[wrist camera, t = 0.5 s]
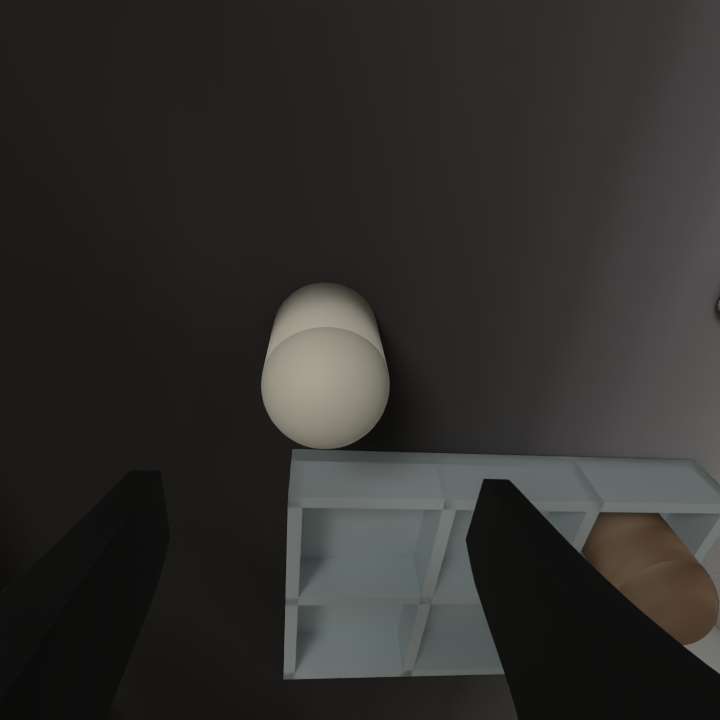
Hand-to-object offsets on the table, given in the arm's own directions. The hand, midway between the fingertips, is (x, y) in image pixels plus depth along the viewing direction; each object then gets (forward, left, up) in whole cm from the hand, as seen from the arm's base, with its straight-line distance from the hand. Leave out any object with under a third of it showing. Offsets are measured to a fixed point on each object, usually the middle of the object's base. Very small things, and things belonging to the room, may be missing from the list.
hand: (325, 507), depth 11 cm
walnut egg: (-16, +10, -9) cm, 20 cm away
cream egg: (0, 0, -9) cm, 9 cm away
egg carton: (-9, +13, -9) cm, 19 cm away
